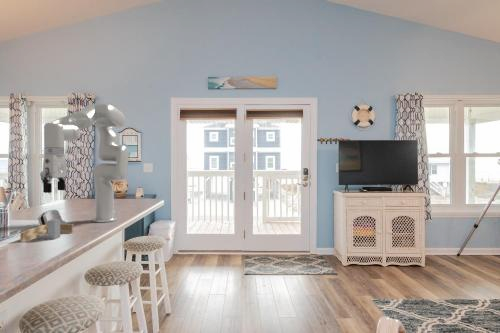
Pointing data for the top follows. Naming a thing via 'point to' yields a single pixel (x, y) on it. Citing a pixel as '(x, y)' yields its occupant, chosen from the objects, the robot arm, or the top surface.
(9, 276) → the top surface
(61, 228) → the wooden corner frame
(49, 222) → the bracket
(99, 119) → the robot arm
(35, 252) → the top surface
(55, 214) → the hinge
